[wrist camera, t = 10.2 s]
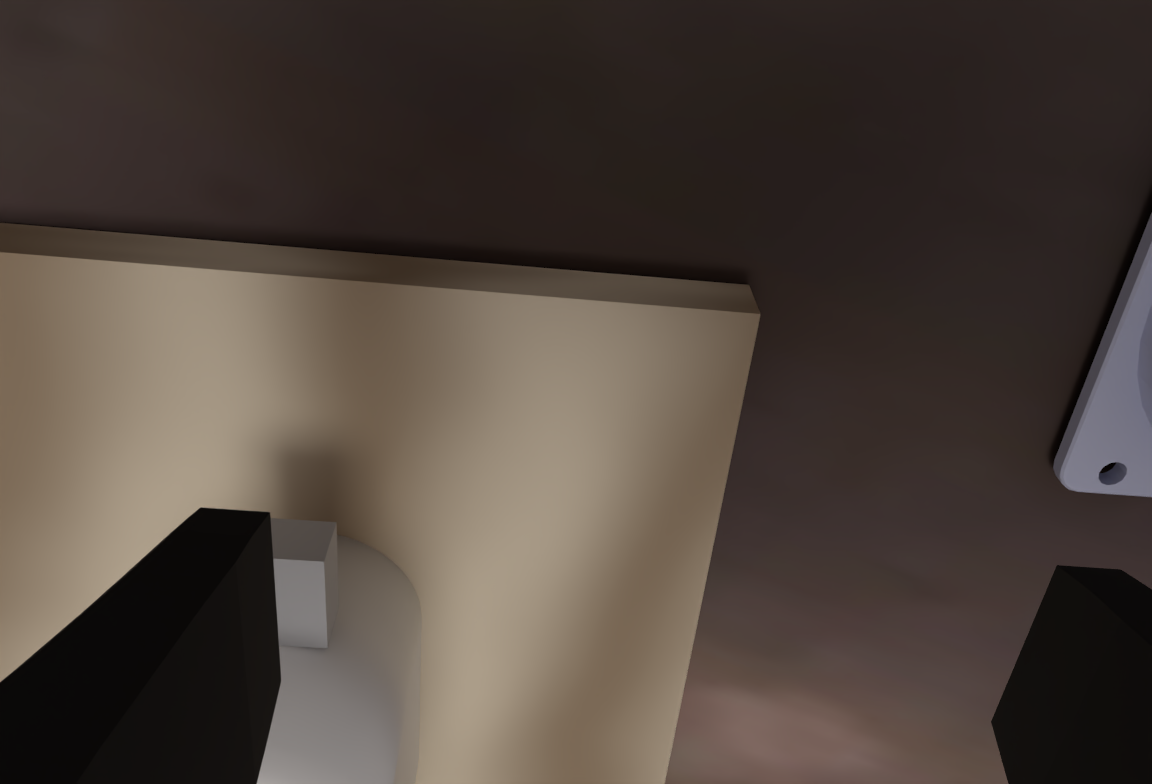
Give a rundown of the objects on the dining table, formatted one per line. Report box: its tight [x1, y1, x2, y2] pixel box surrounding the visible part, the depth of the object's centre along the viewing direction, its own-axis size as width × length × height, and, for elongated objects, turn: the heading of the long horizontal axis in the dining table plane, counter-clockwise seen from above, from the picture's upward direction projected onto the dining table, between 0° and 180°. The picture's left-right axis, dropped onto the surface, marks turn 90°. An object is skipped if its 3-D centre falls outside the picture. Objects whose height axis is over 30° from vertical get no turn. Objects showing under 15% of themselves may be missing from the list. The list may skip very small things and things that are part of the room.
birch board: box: [0, 223, 761, 784], centre depth 22 cm, size 15×19×1 cm
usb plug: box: [257, 518, 422, 784], centre depth 18 cm, size 4×10×5 cm, turn 175°
